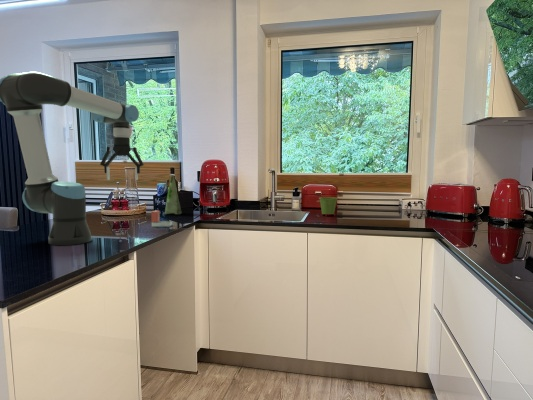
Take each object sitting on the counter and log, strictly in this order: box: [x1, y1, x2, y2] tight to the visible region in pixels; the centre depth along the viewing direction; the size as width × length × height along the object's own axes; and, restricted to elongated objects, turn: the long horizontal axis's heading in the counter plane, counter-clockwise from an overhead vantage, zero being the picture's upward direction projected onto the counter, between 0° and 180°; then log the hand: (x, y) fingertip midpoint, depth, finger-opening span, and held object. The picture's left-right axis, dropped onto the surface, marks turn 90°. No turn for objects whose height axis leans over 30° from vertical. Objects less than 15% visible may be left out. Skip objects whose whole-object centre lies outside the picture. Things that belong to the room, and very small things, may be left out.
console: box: [151, 220, 173, 228], centre depth 192 cm, size 5×9×2 cm, turn 95°
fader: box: [150, 210, 161, 223], centre depth 191 cm, size 5×3×5 cm, turn 5°
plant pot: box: [318, 196, 339, 215], centre depth 237 cm, size 12×12×11 cm
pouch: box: [164, 174, 182, 215], centre depth 235 cm, size 11×12×25 cm
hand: (122, 180), depth 191 cm, fingers open, 13 cm apart
